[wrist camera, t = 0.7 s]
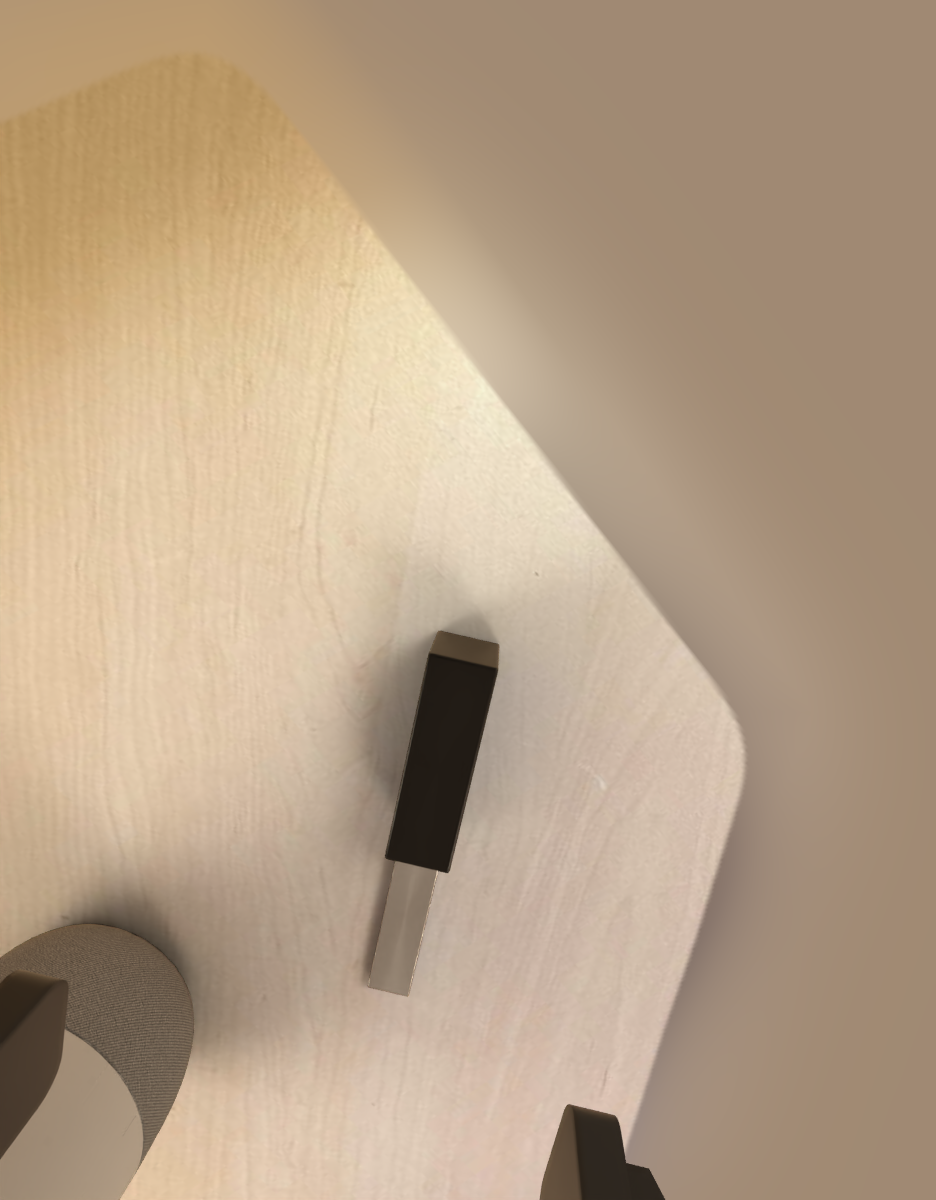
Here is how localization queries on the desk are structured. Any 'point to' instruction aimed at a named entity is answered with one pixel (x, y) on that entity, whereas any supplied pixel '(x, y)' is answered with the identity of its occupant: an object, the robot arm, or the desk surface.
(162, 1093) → the smart speaker
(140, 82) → the desk surface
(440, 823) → the knife
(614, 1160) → the robot arm
